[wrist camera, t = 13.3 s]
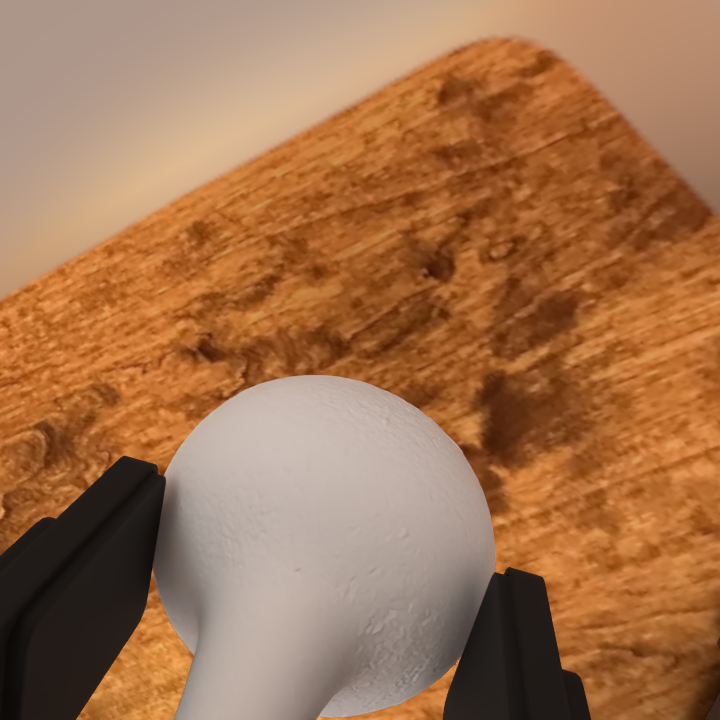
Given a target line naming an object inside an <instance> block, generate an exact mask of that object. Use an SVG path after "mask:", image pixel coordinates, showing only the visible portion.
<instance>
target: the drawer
mask: <svg viewBox="0 0 720 720" xmlns="http://www.w3.org/2000/svg"><path fill="white" fill-rule="evenodd" d="M717 644H718V646H719V648H720V638H719V640H718V643H717ZM705 720H720V693H719V695H718V697H717V698H716V700H715V702H714V704H713V706H712V708H711V710H710V712H709V713H708V715H707V717H706V719H705Z"/></svg>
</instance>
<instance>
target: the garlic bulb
mask: <svg viewBox="0 0 720 720" xmlns="http://www.w3.org/2000/svg"><path fill="white" fill-rule="evenodd" d="M164 476H165V477H166V487H165V493H164V500H163V506H162V512H161V518H160V524H159V530H158V536H157V542H156V549H155V555H154V561H153V573H154V578H155V582H156V586H157V590H158V593H159V596H160V599H161V602H162V604H163V607H164V609H165V612H166V614H167V616H168V618H169V621H170V623H171V625H172V627H173V628H174V630H175V632H176V634H177V635H178V636H179V637H180V639H181V640H182V642H184V643H185V645H186V647H187V648H188V649H189V650H190V651H191V653H192V654H193V655H194V658H193V661H192V664H191V668H190V672H189V675H188V678H187V681H186V684H185V688H184V692H183V695H182V698H181V700H180V704H179V707H178V709H177V712H176V715H175V718H174V720H316V719H317V717H332V718H335V717H350V716H356V715H363V714H366V713H371V712H374V711H377V710H381V709H385V708H387V707H391V706H394V705H400V704H401V703H403V702H404V701H406V700H408V699H410V698H412V697H414V696H416V695H418V694H419V693H421V692H422V691H423V690H425V689H427V688H428V687H429V686H431V685H432V684H433V683H435V682H436V681H437V680H438V679H440V678H441V677H442V676H443V675H444V674H446V672H448V670H449V669H450V668H451V667H452V666H453V665H456V662H457V660H458V659H459V658H460V656H461V655H462V654H463V651H464V648H465V646H466V643H467V640H468V638H469V635H470V632H471V630H472V627H473V624H474V622H475V619H476V616H477V614H478V611H479V608H480V606H481V603H482V600H483V598H484V595H485V592H486V590H487V587H488V584H489V582H490V579H491V577H492V575H493V573H494V571H495V541H494V532H493V526H492V521H491V516H490V511H489V509H488V505H487V501H486V499H485V495H484V493H483V490H482V488H481V486H480V483H479V481H478V478H477V477H476V475H475V473H474V471H473V469H472V468H471V466H470V465H469V463H468V461H467V459H466V457H465V456H464V454H463V452H462V451H461V449H460V448H459V447H458V445H457V444H456V443H455V442H454V441H453V440H452V439H451V438H450V437H449V436H448V435H447V434H446V433H445V432H444V431H443V430H442V429H441V428H440V427H439V425H438V424H437V423H435V422H434V420H432V419H431V418H430V417H429V416H427V415H426V414H424V413H423V412H422V411H421V410H419V409H418V408H416V407H415V406H413V405H411V404H410V403H407V402H406V401H405V400H404V399H401V398H399V397H398V396H396V395H394V394H392V393H390V392H388V391H385V390H383V389H380V388H378V387H376V386H373V385H371V384H368V383H365V382H362V381H358V380H354V379H350V378H344V377H338V376H330V375H302V376H293V377H286V378H280V379H275V380H272V381H267V382H265V383H261V384H258V385H256V386H253V387H251V388H248V389H246V390H244V391H242V392H240V393H238V394H237V395H236V396H234V397H233V398H231V399H229V400H228V401H226V402H225V403H223V404H222V405H220V406H219V407H218V408H217V409H215V410H214V411H213V412H211V413H210V414H209V415H208V416H207V417H206V418H204V419H203V420H202V421H201V422H200V423H199V424H198V425H197V426H196V427H195V428H194V430H193V431H192V432H191V434H190V435H189V436H188V437H187V438H186V439H185V440H184V442H183V443H182V445H181V446H180V447H179V449H178V450H177V452H176V453H175V455H174V457H173V459H172V461H171V462H170V464H169V466H168V468H167V470H166V472H165V474H164Z"/></svg>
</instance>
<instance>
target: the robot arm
mask: <svg viewBox="0 0 720 720" xmlns="http://www.w3.org/2000/svg"><path fill="white" fill-rule="evenodd" d="M165 487H166V477H165V476H162V475H159V474H158V467H157V465H156V464H152V463H149V462H145V461H142V460H138V459H135V458H131V457H128V456H123V457H121V458H120V459H119V460H118V461H117V462H116V463H115V464H113V465H112V466H111V467H110V468H109V469H108V470H107V471H106V472H105V473H104V474H103V475H102V476H101V477H100V478H99V479H98V480H97V481H96V482H95V483H93V484H92V485H91V486H90V487H89V488H88V489H87V490H86V491H85V492H84V493H83V494H82V495H81V496H80V497H79V498H78V499H77V500H76V501H75V502H73V503H72V504H71V505H70V506H69V507H68V508H67V509H66V510H65V511H64V512H63V513H62V514H61V515H60V516H59V517H58V518H57V519H55V518H51V517H46V518H43V519H41V520H40V521H38V522H37V523H36V524H35V525H34V526H32V527H31V528H30V529H29V530H28V531H27V532H26V533H25V534H24V535H23V536H22V537H20V538H19V539H18V540H17V541H16V542H15V543H14V544H13V545H12V546H11V547H9V548H8V549H7V550H6V551H5V552H4V553H3V554H2V555H1V556H0V720H76V719H77V717H78V716H79V714H80V712H81V711H82V709H83V708H84V706H85V705H86V703H87V702H88V700H89V699H90V697H91V696H92V694H93V693H94V691H95V690H96V688H97V687H98V685H99V683H100V682H101V680H102V679H103V677H104V676H105V674H106V673H107V671H108V670H109V668H110V667H111V665H112V664H113V662H114V661H115V659H116V658H117V656H118V654H119V653H120V651H121V650H122V648H123V647H124V645H125V644H126V642H127V641H128V639H129V638H130V636H131V635H132V633H133V632H134V630H135V629H136V627H137V625H138V624H139V622H140V620H141V618H142V615H143V613H144V610H145V607H146V603H147V598H148V591H149V585H150V579H151V573H152V567H153V561H154V555H155V549H156V542H157V536H158V530H159V524H160V518H161V512H162V506H163V500H164V493H165ZM443 720H591V717H590V713H589V708H588V704H587V700H586V695H585V691H584V687H583V684H582V681H581V678H580V677H579V676H578V675H577V674H576V673H573V672H570V671H567V670H563V669H562V667H561V662H560V657H559V652H558V647H557V642H556V637H555V632H554V627H553V622H552V617H551V612H550V607H549V602H548V597H547V592H546V587H545V582H544V579H543V577H541V576H538V575H535V574H531V573H528V572H524V571H521V570H517V569H514V568H511V567H509V568H507V570H506V571H505V573H504V575H503V574H499V573H496V572H495V573H493V575H492V577H491V579H490V582H489V584H488V587H487V590H486V592H485V595H484V598H483V600H482V603H481V606H480V608H479V611H478V614H477V616H476V619H475V622H474V624H473V627H472V630H471V632H470V635H469V638H468V640H467V643H466V646H465V648H464V651H463V654H462V656H461V659H460V662H459V664H458V667H457V670H456V672H455V675H454V678H453V680H452V683H451V686H450V688H449V691H448V694H447V697H446V701H445V706H444V713H443Z"/></svg>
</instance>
